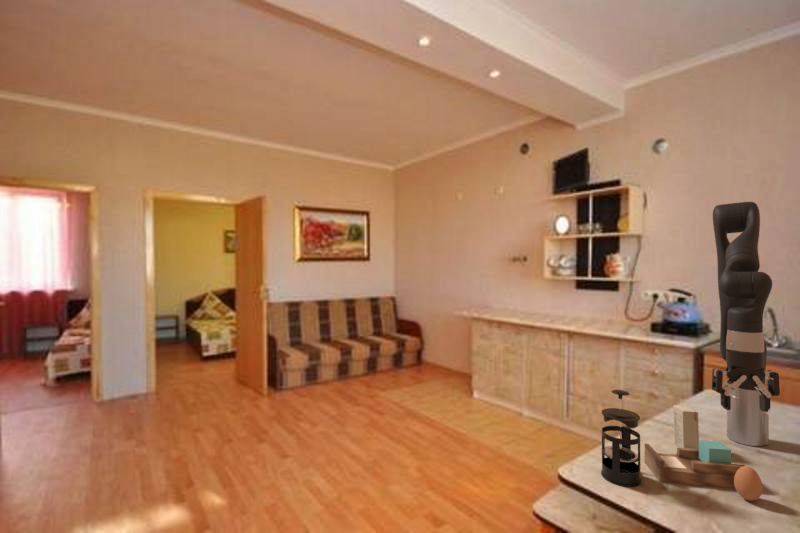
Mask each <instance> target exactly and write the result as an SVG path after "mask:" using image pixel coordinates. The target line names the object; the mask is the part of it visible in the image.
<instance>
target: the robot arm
mask: <svg viewBox="0 0 800 533" xmlns="http://www.w3.org/2000/svg"><path fill="white" fill-rule="evenodd" d="M759 208H760V207H759V206H758V204H757V203H756V202H754V201H742V202H733V203H732V202H731V203H724V204H717V205H715V206H714V208H713V210H712V224H713V232H714V241H715V247H716V258H717V262H716V263H717V284H718V285H717V286H718V287H717V288H718V299H719V306H720V310H719V311H720V329H719V330H720V331H719V332H720V334H719V347H720V348H719V351H720V354H721V358H722V359H723V361H725V362H726V367H725V369H719V368H715V367H714V368H712V372H711V373H712V376H711V390H712V391H714V392H716V393H717V394H720V405H721V407H722V408H723V409H725V410H726V437H727V438H728V439H729V440H731V441H733V442H735V443H738V444H741V445H746V446H751V447H764V446H769V444H770V443H769V442H770V441H769V440H770V438H769V436H770V434H769V432H770V431H769V427H770V426H769V422H770V421H769V414H768V413H769V411H770V410H771V398H772V397H774V396H775V397H778V396H780V395H781V389H780V376H779V375H780V374H779V373H778V372H776V371H773V370H771V369H768V370H767V371H766V369H767V355H768V348H767V344H766V343H767V342H766V341H765V339H764V331H763V330H764V329H763V328H764V324H763V321H764V312H765V308H766V304H767V301H768V298H769V296H770V293H771V292H772V289H773V280H772V278H771V276H770V275H769V274H768V273H766V272H764V271H759V270H760V266H761V265H760V264H761V263H760V256H759V250H758V249H759V247H758V246H759V239H760V227H761V213H760V209H759ZM735 233H736V234H737V233H738V234H739V233H740V234H739V235H738V236H736V237H735V238H734V239H733V240H732V241H731V242H730V240H729V238H728V234H735ZM725 376H726V380H725V381H724V378H725ZM766 380H767V381H766ZM723 381H724V382H723ZM766 382H767V386H766Z"/></svg>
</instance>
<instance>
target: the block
mask: <svg viewBox="0 0 800 533" xmlns="http://www.w3.org/2000/svg"><path fill="white" fill-rule="evenodd" d="M699 459H700V460H701V461H702V462H712V463H725V464H732V450H731V449H730V448H729V447H728V446H726V445H725V444H724V443H723V442H721V441H717V440H703V439H699Z"/></svg>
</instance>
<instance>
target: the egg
mask: <svg viewBox="0 0 800 533" xmlns="http://www.w3.org/2000/svg"><path fill="white" fill-rule="evenodd" d="M734 485H735V488H734V489H735V490H736V492H737V493H738V495H739V496H740V497H741V498H742V499H744V500H746V501H751V502H752V501H756V500H758V499H760V497H761V496H762V493H763V482H762V479H761V477H760V475H759V474H758V472H757V471H756V470H755V469H754V468H753V467H751V466H748V465H745V466H743V467H740V468H739V469H738V470H737V472H736V473H735V476H734Z"/></svg>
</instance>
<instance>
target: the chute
mask: <svg viewBox="0 0 800 533" xmlns="http://www.w3.org/2000/svg"><path fill="white" fill-rule="evenodd" d="M644 464H645V465H646V466H647V468H648V469H650V471H651V473H653V475H654V476H655V477H656V478H657V480H659V482H660V483H671V484H672V483H673V484H681V485H682V484H683V485H685V484H686V485H694V486H695V485H696V486H707V487H708V486H709V487H719V488H731V489H736V488H735V485H734V476H735V473H736V472H737V470H738V469H739V468H740V467H743V466H746V465H745V464H737V463H731V464H725V463H712V462H702V461H701V460H700V459H699V449H688V448H679V447H676V454H674V453H673V454H671V453H661V452H660V453H658V452H657V451H656V450H655V449H654V448H653V447H652V446H651V445H650V443H644Z"/></svg>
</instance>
